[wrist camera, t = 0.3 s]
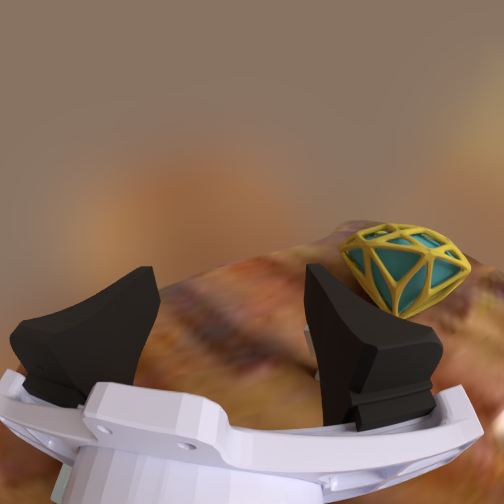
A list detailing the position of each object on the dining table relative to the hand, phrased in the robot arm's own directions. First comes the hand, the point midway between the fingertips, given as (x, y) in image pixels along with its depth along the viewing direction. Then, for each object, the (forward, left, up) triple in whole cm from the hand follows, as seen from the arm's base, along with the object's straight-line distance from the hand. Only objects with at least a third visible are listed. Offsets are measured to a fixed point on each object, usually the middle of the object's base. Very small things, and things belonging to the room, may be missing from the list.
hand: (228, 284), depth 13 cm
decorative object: (+26, -24, -22) cm, 42 cm away
